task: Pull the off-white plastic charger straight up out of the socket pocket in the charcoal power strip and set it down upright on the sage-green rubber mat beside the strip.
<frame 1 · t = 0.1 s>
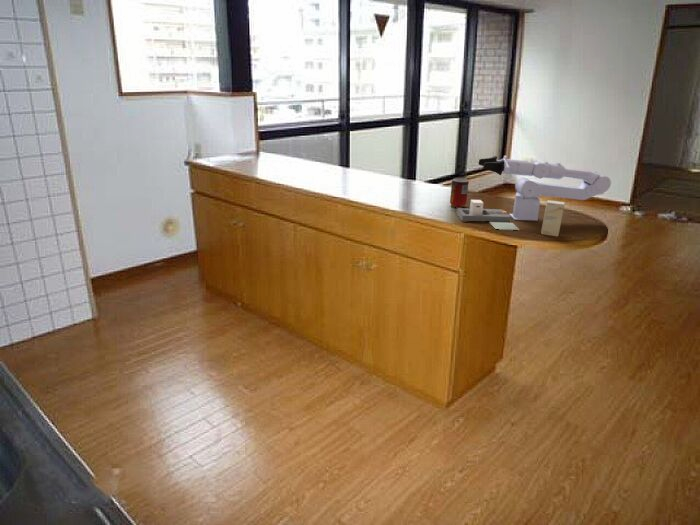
hand: (481, 163, 201), 22 cm above the table, tool horizontal, fingers open, 7 cm apart
power strip: (482, 218, 207), on the table
mat: (503, 226, 196), on the table
charger: (475, 218, 207), resting in power strip
skincare box: (549, 234, 190), on the table
soda can: (457, 206, 224), on the table
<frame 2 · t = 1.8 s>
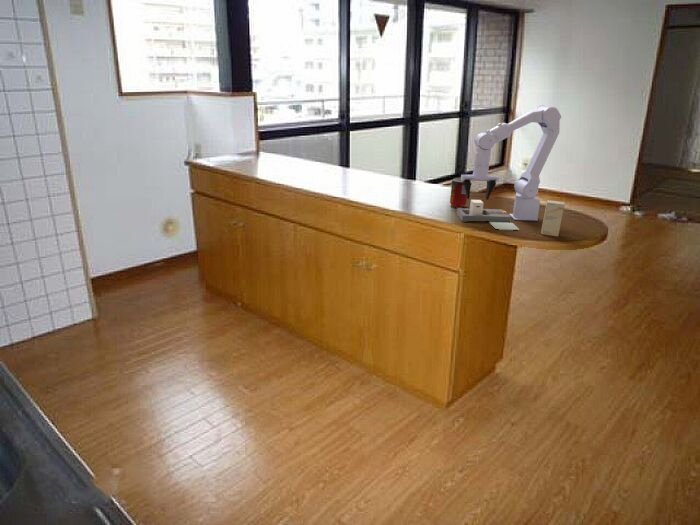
hand: (477, 198, 204), 8 cm above the table, tool pointing down, fingers open, 7 cm apart
nothing on the table moved.
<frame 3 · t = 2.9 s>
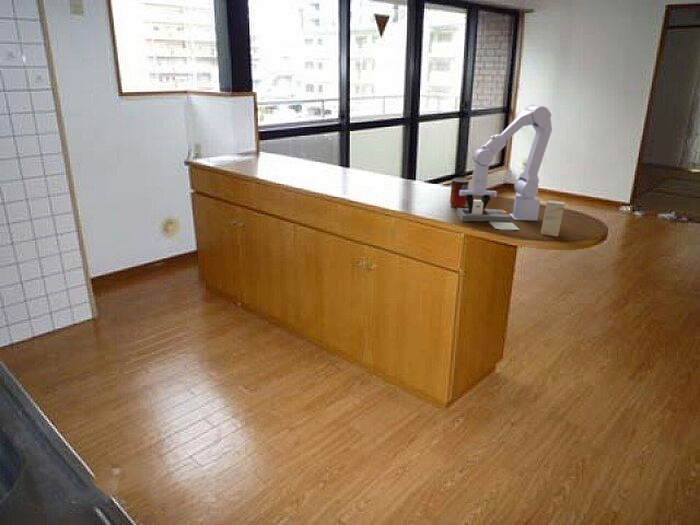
hand: (475, 213, 206), 2 cm above the table, tool pointing down, fingers closed on charger, 4 cm apart
charger: (475, 218, 207), resting in power strip, touching gripper
everything else where it was.
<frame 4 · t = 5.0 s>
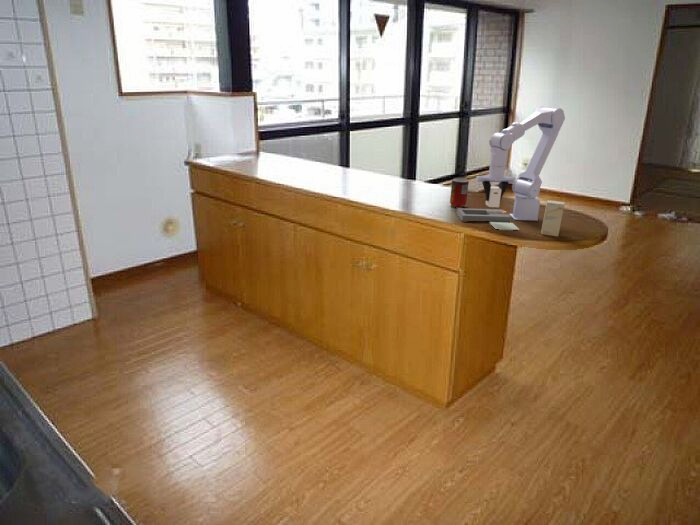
hand: (493, 200, 198), 9 cm above the table, tool pointing down, fingers closed on charger, 4 cm apart
charger: (492, 205, 199), point 7 cm above the table, touching gripper
everything else where it was.
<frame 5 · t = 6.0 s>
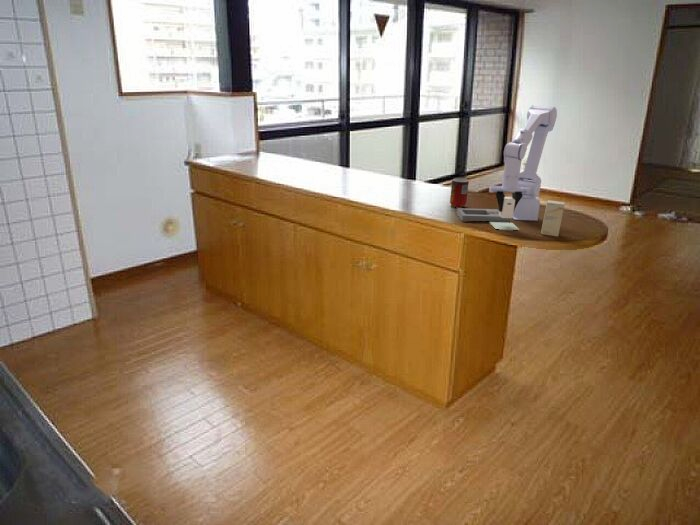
hand: (506, 211, 194), 6 cm above the table, tool pointing down, fingers closed on charger, 4 cm apart
charger: (505, 216, 195), point 4 cm above the table, touching gripper
everything else where it was.
when the fingers open (3 cm above the table, at t = 6.9 s): charger stays where it is, resting on mat.
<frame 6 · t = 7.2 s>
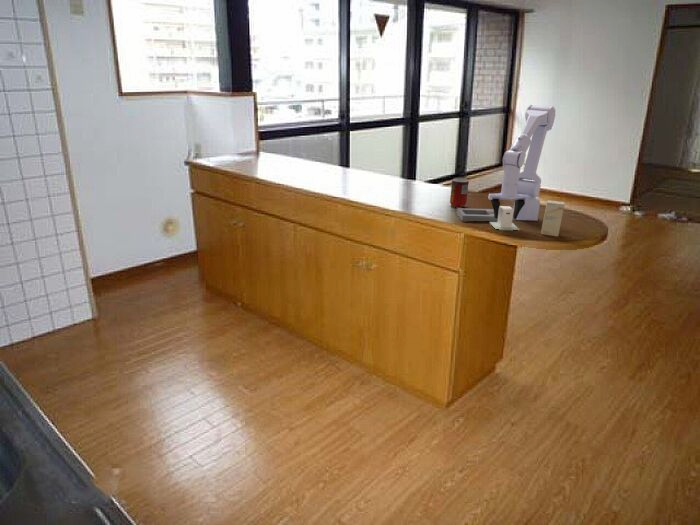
hand: (505, 218, 195), 3 cm above the table, tool pointing down, fingers open, 7 cm apart
charger: (504, 225, 196), resting on mat
everything else where it was.
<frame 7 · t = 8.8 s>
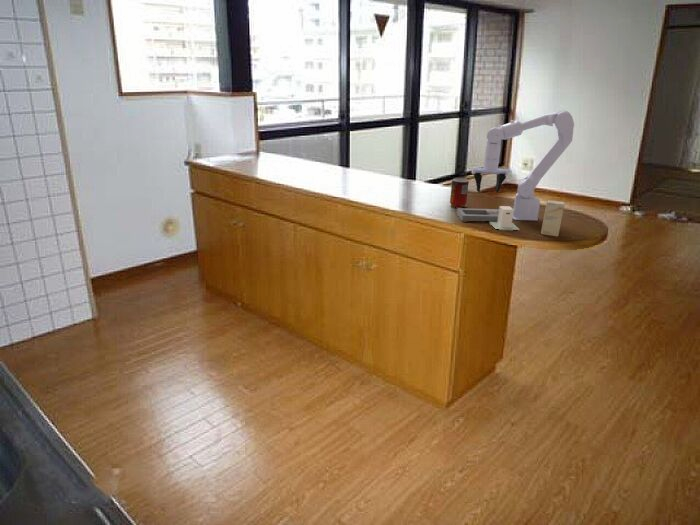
hand: (487, 191, 210), 9 cm above the table, tool pointing down, fingers open, 7 cm apart
nothing on the table moved.
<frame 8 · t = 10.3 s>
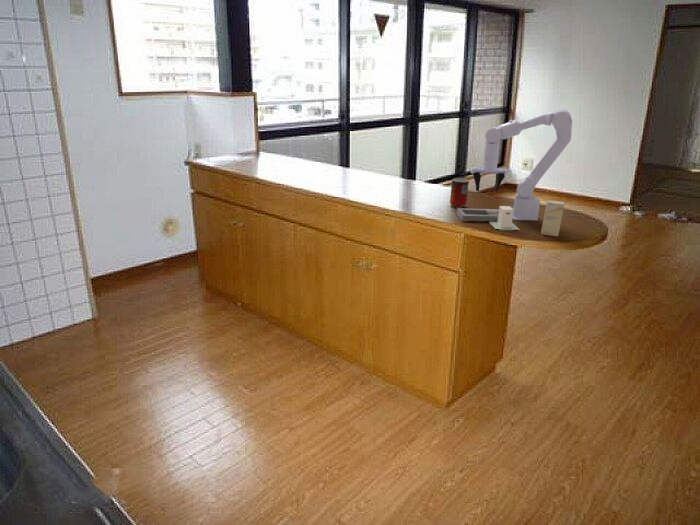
hand: (486, 191, 211), 9 cm above the table, tool pointing down, fingers open, 7 cm apart
nothing on the table moved.
at the end: charger 0.1 cm from the target spot, point 0.5 cm above the table; charger tilted 0°; the gripper is holding nothing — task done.
